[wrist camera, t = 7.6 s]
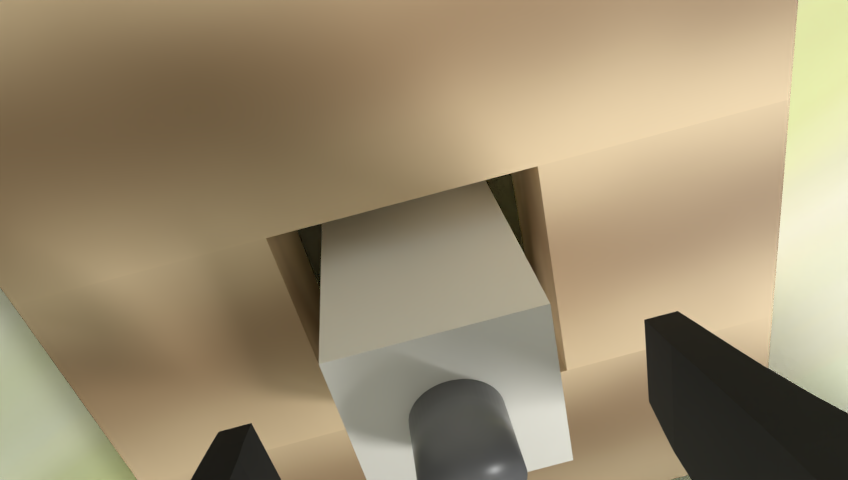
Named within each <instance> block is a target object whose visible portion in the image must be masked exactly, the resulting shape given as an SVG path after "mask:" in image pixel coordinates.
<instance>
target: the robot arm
mask: <svg viewBox="0 0 848 480" xmlns="http://www.w3.org/2000/svg"><path fill="white" fill-rule="evenodd" d="M644 324H645V342H646V360H647V378H648V396H649V403H650V405H651V407H652V409H653V411H654V413H655V415H656V417H657V419H658V421H659V423H660V426H661V428H662V430H663V432H664V434H665V436H666V437H667V439H668V441H669V443H670V445H671V447H672V449H673V451H674V453H675V455H676V456H677V458H678V459H679V461H680V462H681V464H682V466H683V467H684V469H685V470H686V472H687V473H688V475H689V476H690V478H691V479H692V480H848V413H846V412H844V411H842V410H840V409H838V408H837V407H835V406H833V405H831V404H829V403H827V402H825V401H823V400H822V399H820V398H818V397H816V396H814V395H813V394H811V393H809V392H807V391H806V390H804V389H802V388H800V387H799V386H797V385H795V384H794V383H792V382H790V381H789V380H787V379H785V378H784V377H782V376H780V375H779V374H777V373H775V372H773V371H772V370H770V369H768V368H767V367H765V366H763V365H762V364H760V363H759V362H757V361H755V360H754V359H752V358H751V357H749V356H747V355H746V354H744V353H743V352H741V351H739V350H738V349H736V348H735V347H733V346H732V345H730V344H728V343H727V342H725V341H724V340H722V339H721V338H719V337H718V336H716V335H715V334H713V333H711V332H710V331H708V330H707V329H705V328H704V327H702V326H701V325H699V324H698V323H696V322H694V321H693V320H691V319H690V318H688V317H687V316H685V315H683V314H682V313H680V312H679V311H675V312H672V313H668V314H664V315H660V316H656V317H653V318H649V319H645V320H644ZM191 480H281V478H280V476H279V474H278V473H277V471H276V469H275V467H274V465H273V463H272V461H271V459H270V457H269V455H268V453H267V452H266V450H265V448H264V446H263V444H262V442H261V440H260V438H259V436H258V434H257V433H256V431H255V429H254V427H253V425H252V423H250V424H246V425H242V426H238V427H234V428H231V429H227V430H223V431H219V432H218V433H217V435H216V437H215V438H214V440H213V442H212V443H211V445H210V447H209V448H208V450H207V452H206V454H205V455H204V457H203V459H202V461H201V462H200V464H199V466H198V468H197V469H196V471H195V473H194V475H193V476H192V478H191Z"/></svg>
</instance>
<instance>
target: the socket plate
mask: <svg viewBox="0 0 848 480" xmlns="http://www.w3.org/2000/svg"><path fill="white" fill-rule="evenodd" d="M797 8H798V0H0V288H1V289H2V290H3V292H4V293H5V295H6V296H7V297H8V299H9V300H10V302H11V303H12V304H13V306H14V307H15V309H16V310H17V312H18V313H19V314H20V316H21V317H22V319H23V320H24V321H25V323H26V324H27V326H28V327H29V328H30V330H31V331H32V333H33V334H34V335H35V337H36V338H37V340H38V341H39V342H40V344H41V345H42V347H43V348H44V349H45V351H46V352H47V354H48V355H49V356H50V358H51V359H52V361H53V362H54V363H55V365H56V366H57V368H58V369H59V371H60V372H61V373H62V375H63V376H64V378H65V379H66V380H67V382H68V383H69V385H70V386H71V387H72V389H73V390H74V392H75V393H76V394H77V396H78V397H79V399H80V400H81V401H82V403H83V404H84V406H85V407H86V408H87V410H88V411H89V413H90V414H91V415H92V417H93V418H94V420H95V421H96V422H97V424H98V425H99V427H100V428H101V430H102V431H103V432H104V434H105V435H106V437H107V438H108V439H109V441H110V442H111V444H112V445H113V446H114V448H115V449H116V451H117V452H118V453H119V455H120V456H121V458H122V459H123V460H124V462H125V463H126V465H127V466H128V467H129V469H130V470H131V472H132V473H133V474H134V476H135V477H136V479H137V480H191V478H192V476H193V475H194V473H195V471H196V469H197V468H198V466H199V464H200V462H201V461H202V459H203V457H204V455H205V454H206V452H207V450H208V448H209V447H210V445H211V443H212V442H213V440H214V438H215V437H216V435H217V433H218V432H219V431H223V430H227V429H231V428H234V427H238V426H242V425H246V424H250V423H252V425H253V427H254V429H255V431H256V433H257V434H258V436H259V438H260V440H261V442H262V444H263V446H264V448H265V450H266V452H267V453H268V455H269V457H270V459H271V461H272V463H273V465H274V467H275V469H276V471H277V473H278V474H279V476H280V478H281V480H366V477H365V475H364V472H363V470H362V468H361V465H360V463H359V460H358V458H357V455H356V453H355V451H354V448H353V446H352V443H351V441H350V439H349V436H348V434H347V431H346V429H345V426H344V424H343V422H342V419H341V417H340V414H339V412H338V410H337V407H336V405H335V402H334V400H333V397H332V395H331V393H330V390H329V388H328V385H327V383H326V381H325V378H324V376H323V373H322V371H321V368H320V366H319V330H320V288H319V286H318V283H317V281H316V278H315V275H314V273H313V270H312V268H311V265H310V262H309V260H308V257H307V255H306V252H305V250H304V247H303V244H302V242H301V239H300V237H299V234H298V231H297V230H299V229H303V228H307V227H310V226H314V225H318V224H322V223H325V222H329V221H333V220H337V219H340V218H344V217H348V216H352V215H356V214H359V213H363V212H367V211H371V210H374V209H378V208H382V207H386V206H389V205H393V204H397V203H401V202H405V201H408V200H412V199H416V198H420V197H423V196H427V195H431V194H435V193H438V192H442V191H446V190H450V189H454V188H457V187H461V186H465V185H469V184H472V183H476V182H480V181H484V180H488V179H491V178H495V177H499V176H503V175H506V174H510V173H511V175H512V181H513V187H514V193H515V199H516V205H517V211H518V217H519V223H520V229H521V235H522V241H523V247H524V253H525V256H526V258H527V260H528V262H529V264H530V266H531V268H532V270H533V271H534V273H535V275H536V277H537V279H538V281H539V283H540V285H541V287H542V289H543V290H544V292H545V294H546V296H547V298H548V300H549V302H550V304H551V311H552V318H553V325H554V332H555V339H556V345H557V352H558V359H559V366H560V373H561V380H562V387H563V393H564V400H565V407H566V414H567V421H568V428H569V435H570V441H571V448H572V455H573V460H571V461H568V462H564V463H560V464H556V465H552V466H549V467H545V468H541V469H537V470H533V471H530V472H527V474H528V476H527V480H671V479H675V478H678V477H682V476H686V475H688V473H687V472H686V470H685V469H684V467H683V466H682V464H681V462H680V461H679V459H678V458H677V456H676V455H675V453H674V451H673V449H672V447H671V445H670V443H669V441H668V439H667V437H666V436H665V434H664V432H663V430H662V428H661V426H660V423H659V421H658V419H657V417H656V415H655V413H654V411H653V409H652V407H651V405H650V403H649V396H648V378H647V360H646V342H645V324H644V320H645V319H649V318H653V317H656V316H660V315H664V314H668V313H672V312H675V311H679V312H680V313H682V314H683V315H685V316H687V317H688V318H690V319H691V320H693V321H694V322H696V323H698V324H699V325H701V326H702V327H704V328H705V329H707V330H708V331H710V332H711V333H713V334H715V335H716V336H718V337H719V338H721V339H722V340H724V341H725V342H727V343H728V344H730V345H732V346H733V347H735V348H736V349H738V350H739V351H741V352H743V353H744V354H746V355H747V356H749V357H751V358H752V359H754V360H755V361H757V362H759V363H760V364H762V365H763V366H765V367H767V368H768V361H769V349H770V337H771V325H772V312H773V300H774V288H775V276H776V264H777V251H778V239H779V227H780V215H781V203H782V190H783V178H784V166H785V154H786V142H787V129H788V117H789V105H790V93H791V81H792V68H793V56H794V44H795V32H796V20H797Z"/></svg>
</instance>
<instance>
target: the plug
mask: <svg viewBox="0 0 848 480" xmlns="http://www.w3.org/2000/svg"><path fill="white" fill-rule="evenodd" d="M319 366H320V368H321V371H322V373H323V376H324V378H325V381H326V383H327V385H328V388H329V390H330V393H331V395H332V397H333V400H334V402H335V405H336V407H337V410H338V412H339V414H340V417H341V419H342V422H343V424H344V426H345V429H346V431H347V434H348V436H349V439H350V441H351V443H352V446H353V448H354V451H355V453H356V455H357V458H358V460H359V463H360V465H361V468H362V470H363V472H364V475H365V477H366V480H527V476H528V474H527V472H530V471H533V470H537V469H541V468H545V467H549V466H552V465H556V464H560V463H564V462H568V461H571V460H573V455H572V448H571V441H570V435H569V428H568V421H567V414H566V407H565V400H564V393H563V387H562V380H561V373H560V366H559V359H558V352H557V345H556V339H555V332H554V325H553V318H552V311H551V304H550V302H549V300H548V298H547V296H546V294H545V292H544V290H543V289H542V287H541V285H540V283H539V281H538V279H537V277H536V275H535V273H534V271H533V270H532V268H531V266H530V264H529V262H528V260H527V258H526V256H525V254H524V252H523V251H522V249H521V247H520V245H519V243H518V241H517V239H516V237H515V235H514V233H513V232H512V230H511V228H510V226H509V224H508V222H507V220H506V218H505V216H504V215H503V213H502V211H501V209H500V207H499V205H498V203H497V201H496V199H495V197H494V196H493V194H492V192H491V190H490V188H489V186H488V184H487V182H486V180H484V181H480V182H476V183H472V184H469V185H465V186H461V187H457V188H454V189H450V190H446V191H442V192H438V193H435V194H431V195H427V196H423V197H420V198H416V199H412V200H408V201H405V202H401V203H397V204H393V205H389V206H386V207H382V208H378V209H374V210H371V211H367V212H363V213H359V214H356V215H352V216H348V217H344V218H340V219H337V220H333V221H329V222H325V223H322V242H321V286H320V330H319Z"/></svg>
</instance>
